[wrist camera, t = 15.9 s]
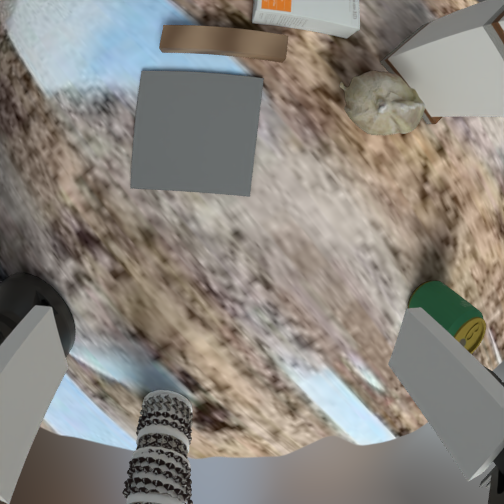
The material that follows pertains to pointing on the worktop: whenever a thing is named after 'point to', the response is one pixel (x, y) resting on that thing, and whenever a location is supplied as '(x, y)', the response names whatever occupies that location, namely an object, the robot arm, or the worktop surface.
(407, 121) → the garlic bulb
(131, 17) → the worktop surface
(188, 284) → the worktop surface
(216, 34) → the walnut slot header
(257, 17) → the skincare box
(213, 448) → the worktop surface
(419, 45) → the white tall block
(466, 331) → the beverage can
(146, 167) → the charcoal mat
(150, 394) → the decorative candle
